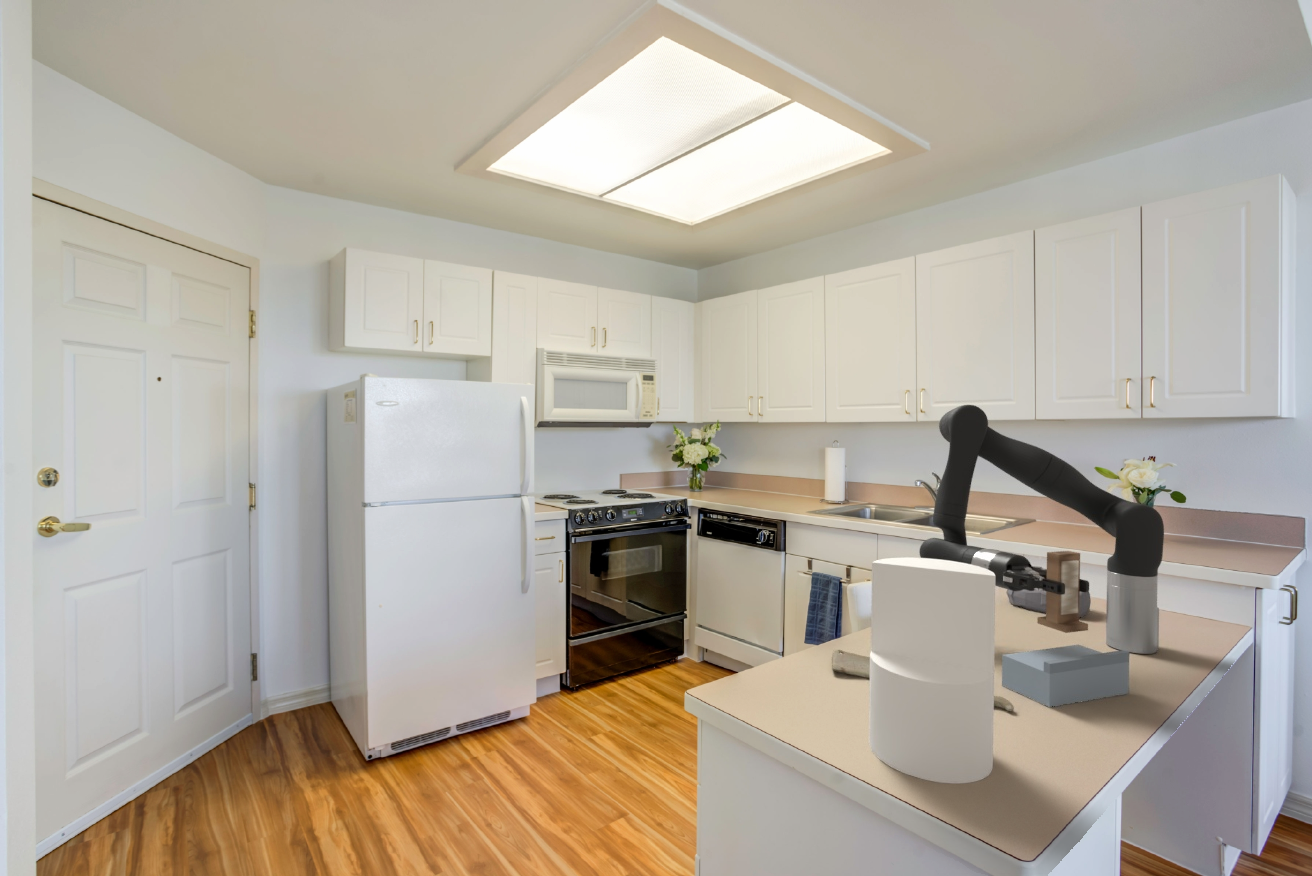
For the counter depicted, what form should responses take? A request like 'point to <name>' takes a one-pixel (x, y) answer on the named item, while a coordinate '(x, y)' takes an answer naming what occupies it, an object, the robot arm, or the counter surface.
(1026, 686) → the display riser
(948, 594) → the cylinder
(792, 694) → the counter surface
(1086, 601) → the grey rounded bag
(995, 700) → the decorative wall piece
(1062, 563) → the brown wooden block
